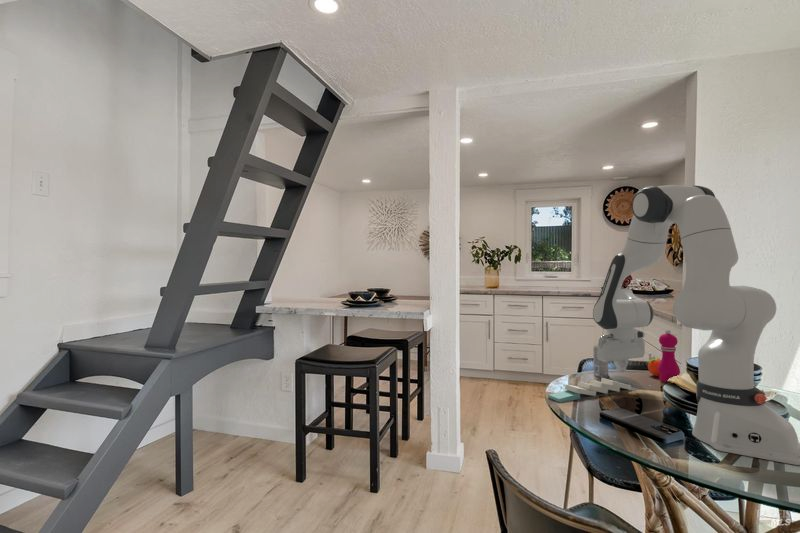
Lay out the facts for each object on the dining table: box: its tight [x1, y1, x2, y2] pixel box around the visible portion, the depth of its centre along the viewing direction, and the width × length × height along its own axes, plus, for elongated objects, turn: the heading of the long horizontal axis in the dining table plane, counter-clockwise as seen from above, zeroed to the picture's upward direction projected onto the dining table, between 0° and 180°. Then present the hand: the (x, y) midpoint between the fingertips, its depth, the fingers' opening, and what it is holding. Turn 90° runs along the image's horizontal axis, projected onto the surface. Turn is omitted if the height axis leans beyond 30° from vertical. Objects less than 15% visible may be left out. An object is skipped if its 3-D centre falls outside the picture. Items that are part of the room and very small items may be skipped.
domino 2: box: [564, 384, 596, 396], centre depth 142 cm, size 2×5×9 cm
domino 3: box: [576, 380, 608, 394], centre depth 144 cm, size 2×5×9 cm
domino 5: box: [600, 377, 632, 390], centre depth 148 cm, size 2×5×9 cm
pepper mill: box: [658, 329, 681, 383], centre depth 159 cm, size 7×7×20 cm
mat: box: [576, 386, 638, 401], centre depth 146 cm, size 29×6×1 cm, turn 113°
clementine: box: [646, 358, 661, 377], centre depth 168 cm, size 8×7×7 cm
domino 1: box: [548, 389, 581, 403], centre depth 139 cm, size 2×5×9 cm
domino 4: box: [588, 379, 620, 392], centre depth 146 cm, size 2×5×9 cm
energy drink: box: [593, 345, 609, 378], centre depth 169 cm, size 5×5×12 cm
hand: (621, 371), depth 149 cm, fingers closed
